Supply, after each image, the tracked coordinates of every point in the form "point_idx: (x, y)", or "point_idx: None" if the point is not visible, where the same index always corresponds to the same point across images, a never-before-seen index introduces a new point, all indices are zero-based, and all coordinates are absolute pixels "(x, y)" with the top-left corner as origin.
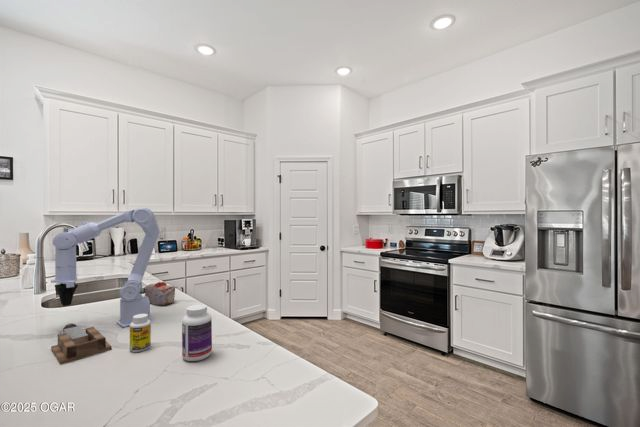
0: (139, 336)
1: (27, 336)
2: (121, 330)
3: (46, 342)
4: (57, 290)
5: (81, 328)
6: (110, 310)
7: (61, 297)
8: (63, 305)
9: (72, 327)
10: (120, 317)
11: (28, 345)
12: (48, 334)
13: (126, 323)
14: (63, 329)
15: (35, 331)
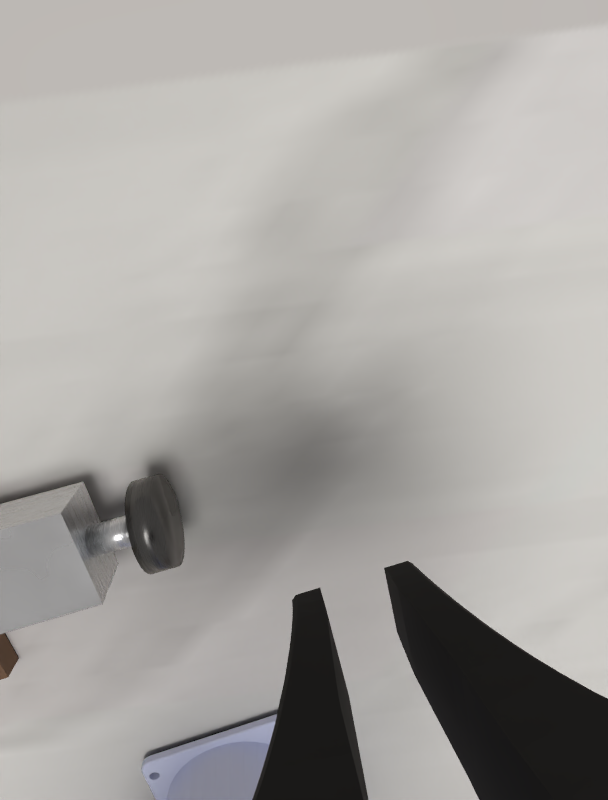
0: None
1: (350, 214)
2: (93, 752)
3: (96, 367)
4: (571, 747)
5: (3, 631)
6: (597, 643)
7: (281, 717)
8: (294, 602)
9: (80, 565)
10: (219, 792)
11: (94, 253)
12: (300, 353)
13: (175, 782)
14: (137, 489)
15: (447, 254)
